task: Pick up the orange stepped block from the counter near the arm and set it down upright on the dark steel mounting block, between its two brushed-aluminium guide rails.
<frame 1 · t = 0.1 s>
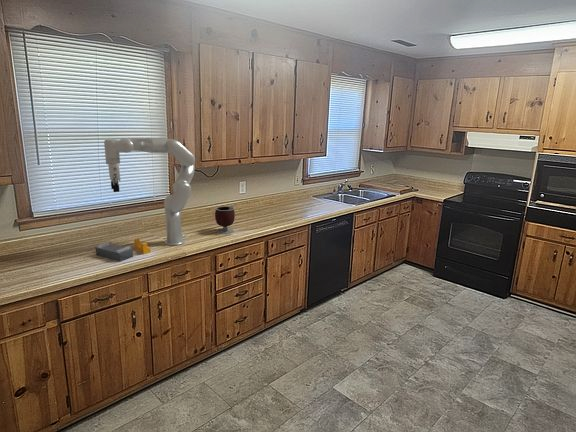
hand: (115, 190, 229), 37 cm above the worktop, fingers open, 9 cm apart
mate gourd: (226, 231, 282), on the worktop
mounting block: (114, 256, 229), on the worktop
orange stepped block: (142, 251, 239), on the worktop
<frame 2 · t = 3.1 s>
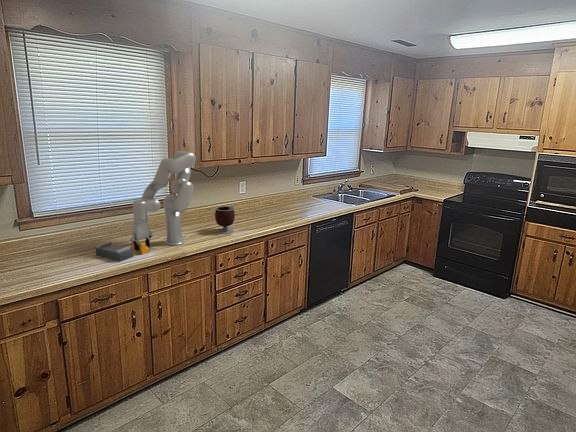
hand: (142, 248, 238), 2 cm above the worktop, fingers open, 7 cm apart
orange stepped block: (140, 251, 238), on the worktop, touching gripper
everything else where it was.
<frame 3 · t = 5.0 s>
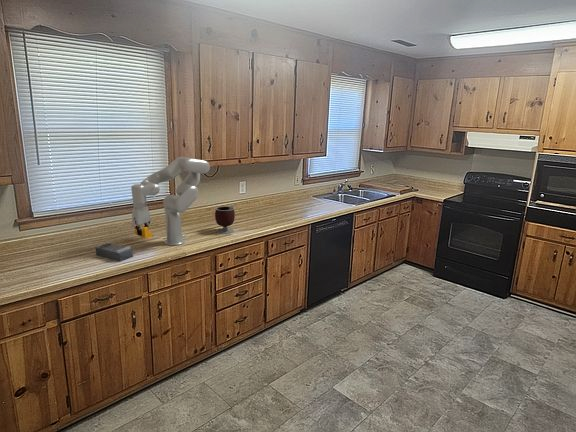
hand: (143, 233, 237), 11 cm above the worktop, fingers closed on orange stepped block, 4 cm apart
orange stepped block: (143, 235, 238), point 9 cm above the worktop, touching gripper
everything else where it was.
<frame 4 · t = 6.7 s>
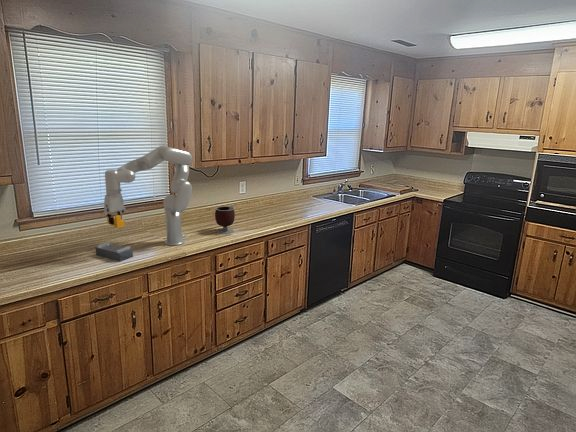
hand: (115, 222, 225), 20 cm above the worktop, fingers closed on orange stepped block, 4 cm apart
orange stepped block: (116, 225, 226), point 18 cm above the worktop, touching gripper
everything else where it was.
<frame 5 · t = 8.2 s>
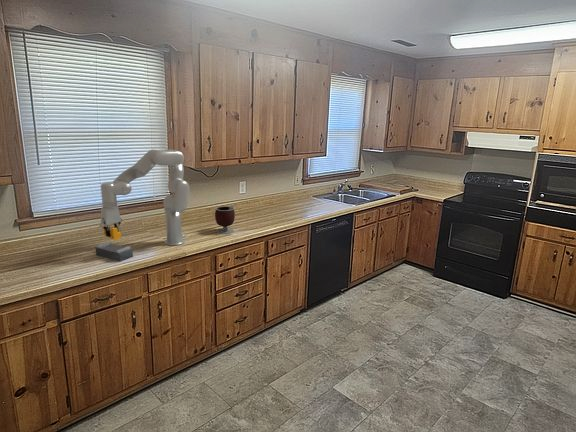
hand: (112, 234, 225), 13 cm above the worktop, fingers closed on orange stepped block, 4 cm apart
orange stepped block: (112, 237, 226), point 12 cm above the worktop, touching gripper
everything else where it was.
when the fingers open (7 cm above the worktop, at t = 9.6 s): orange stepped block moves 1 cm, resting on mounting block.
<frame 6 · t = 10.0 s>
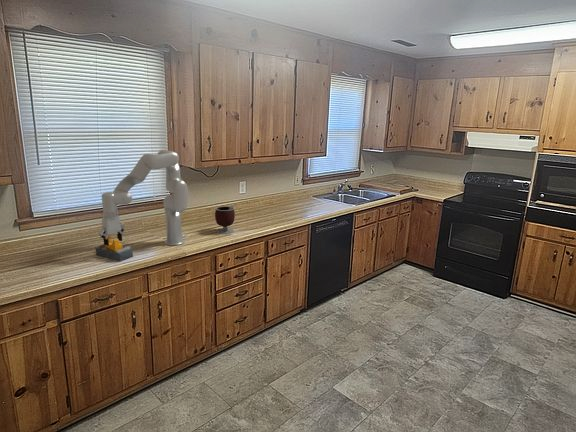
hand: (113, 242, 227), 8 cm above the worktop, fingers open, 9 cm apart
orange stepped block: (113, 248, 228), point 5 cm above the worktop, touching mounting block
everything else where it was.
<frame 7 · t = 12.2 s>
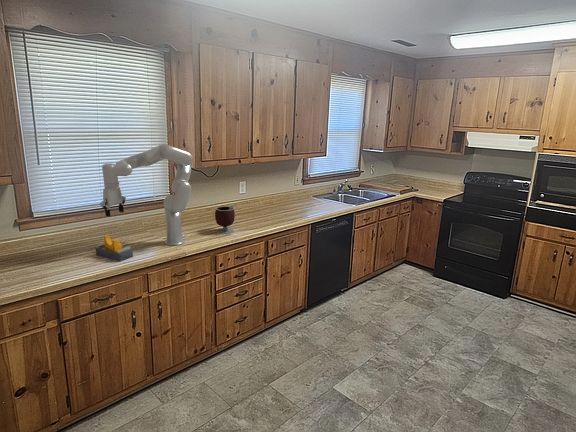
hand: (114, 214, 228), 24 cm above the worktop, fingers open, 9 cm apart
nothing on the worktop moved.
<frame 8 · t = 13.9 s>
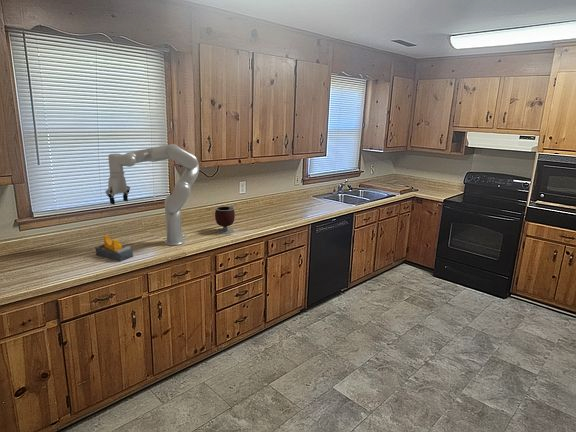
hand: (119, 202, 237), 28 cm above the worktop, fingers open, 9 cm apart
nothing on the worktop moved.
at the end: orange stepped block 0.3 cm off-centre on the mounting block, point 4.8 cm above the mounting block's base; orange stepped block tilted 0°; the gripper is holding nothing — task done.
